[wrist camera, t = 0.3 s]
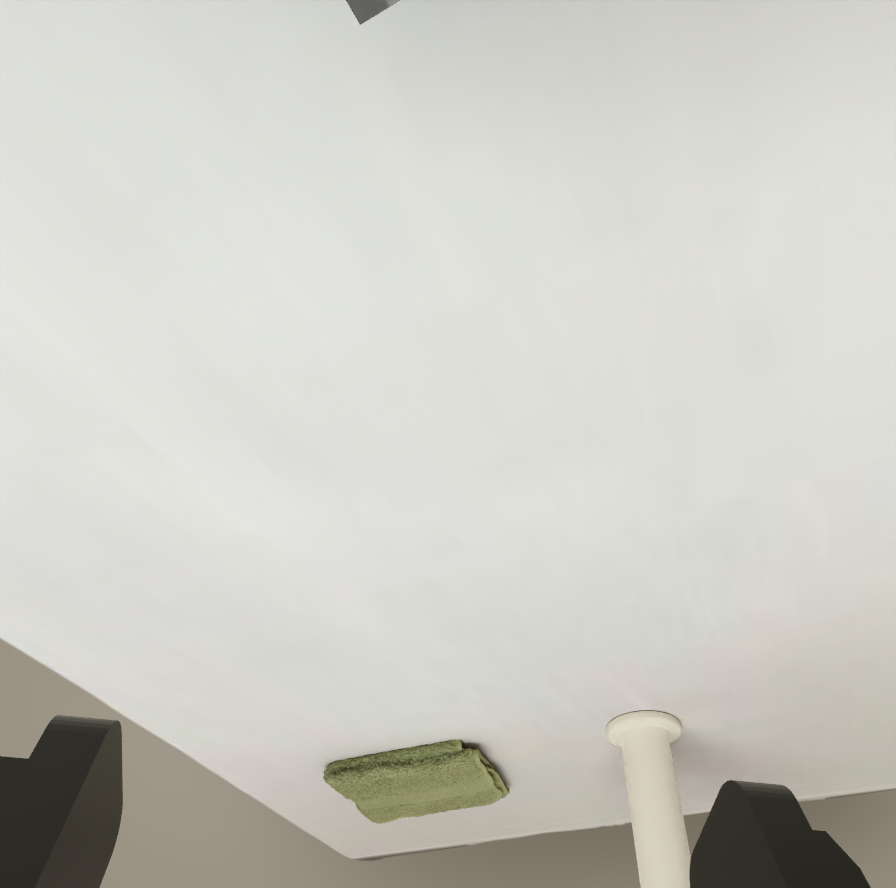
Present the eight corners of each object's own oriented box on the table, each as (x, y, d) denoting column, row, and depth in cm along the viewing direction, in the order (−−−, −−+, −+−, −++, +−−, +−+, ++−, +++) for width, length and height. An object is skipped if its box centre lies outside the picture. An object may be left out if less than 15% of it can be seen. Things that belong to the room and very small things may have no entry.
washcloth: (515, 781, 87) (516, 811, 84) (370, 800, 91) (368, 829, 89) (475, 731, 78) (475, 763, 76) (318, 755, 83) (313, 785, 81)
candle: (624, 705, 73) (673, 1041, 55) (693, 716, 74) (763, 1048, 56) (593, 737, 77) (629, 1055, 60) (659, 747, 79) (713, 1061, 61)
